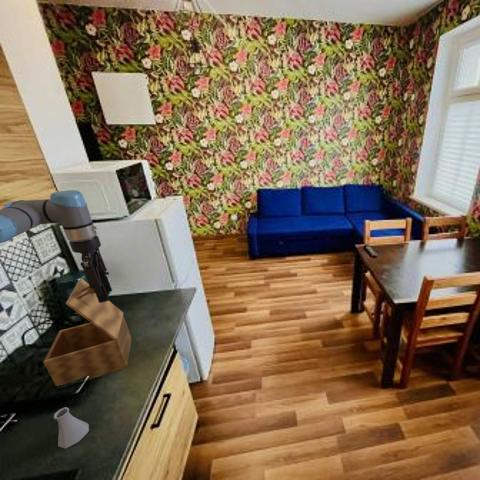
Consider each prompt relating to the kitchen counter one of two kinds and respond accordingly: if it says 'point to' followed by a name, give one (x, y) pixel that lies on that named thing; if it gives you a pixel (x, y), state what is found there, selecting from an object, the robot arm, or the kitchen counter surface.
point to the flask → (69, 428)
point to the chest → (87, 353)
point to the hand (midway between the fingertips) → (106, 296)
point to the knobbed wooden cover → (95, 309)
